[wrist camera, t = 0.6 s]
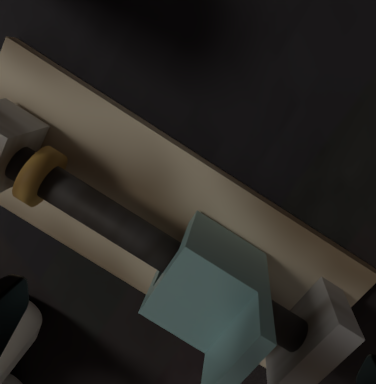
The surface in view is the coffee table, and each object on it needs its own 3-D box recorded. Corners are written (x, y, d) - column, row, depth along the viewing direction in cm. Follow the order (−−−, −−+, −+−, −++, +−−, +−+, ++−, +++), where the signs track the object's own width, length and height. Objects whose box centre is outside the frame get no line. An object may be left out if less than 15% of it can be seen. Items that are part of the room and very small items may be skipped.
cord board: (279, 365, 26) (287, 439, 21) (-34, 173, 25) (-108, 200, 19) (375, 268, 22) (414, 328, 17) (16, 37, 21) (-57, 27, 16)
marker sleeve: (222, 306, 23) (213, 411, 16) (158, 266, 23) (119, 355, 16) (266, 254, 22) (276, 345, 15) (197, 210, 21) (173, 281, 14)
